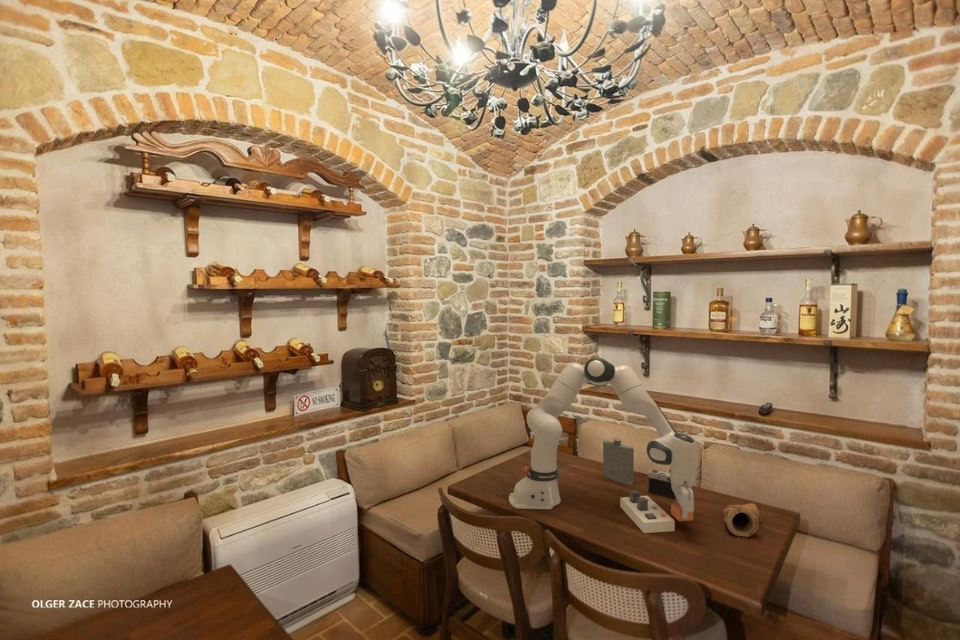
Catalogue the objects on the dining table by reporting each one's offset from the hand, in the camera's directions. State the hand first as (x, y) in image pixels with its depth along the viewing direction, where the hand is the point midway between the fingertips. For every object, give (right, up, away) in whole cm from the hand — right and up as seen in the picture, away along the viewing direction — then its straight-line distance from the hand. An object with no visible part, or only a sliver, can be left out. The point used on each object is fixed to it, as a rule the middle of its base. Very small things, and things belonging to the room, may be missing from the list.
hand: (681, 512), depth 180 cm
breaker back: (-13, -1, +14) cm, 20 cm away
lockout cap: (0, -2, 0) cm, 2 cm away
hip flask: (-11, -3, +46) cm, 47 cm away
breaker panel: (-11, -5, +7) cm, 14 cm away
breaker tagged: (-12, -6, 0) cm, 13 cm away
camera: (+6, -4, +30) cm, 31 cm away
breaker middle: (-13, -2, +7) cm, 15 cm away
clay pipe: (+22, -6, -2) cm, 23 cm away
